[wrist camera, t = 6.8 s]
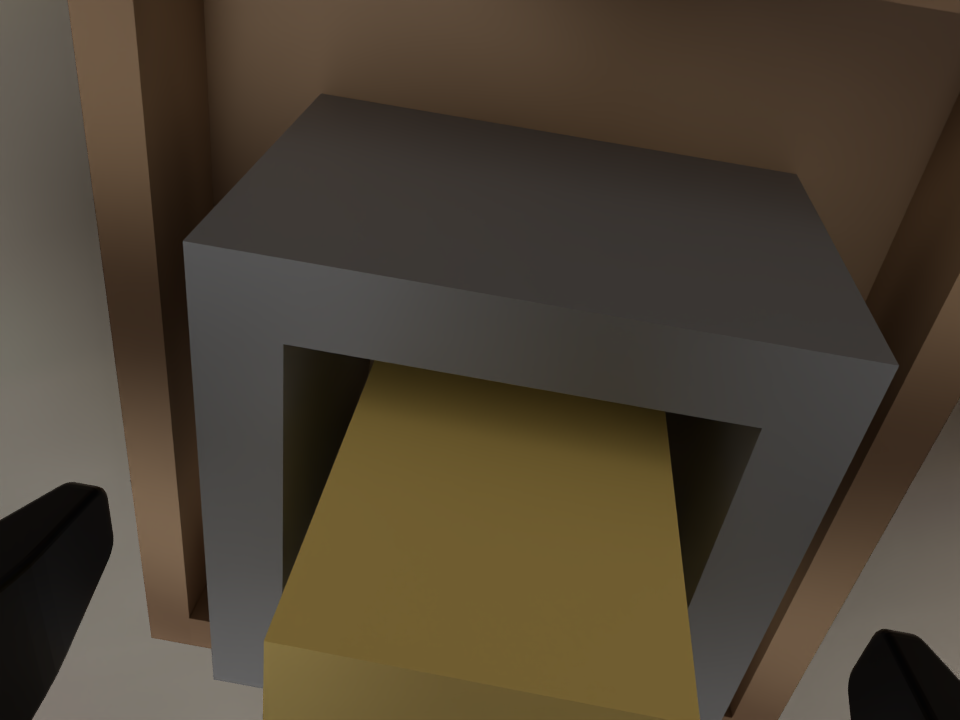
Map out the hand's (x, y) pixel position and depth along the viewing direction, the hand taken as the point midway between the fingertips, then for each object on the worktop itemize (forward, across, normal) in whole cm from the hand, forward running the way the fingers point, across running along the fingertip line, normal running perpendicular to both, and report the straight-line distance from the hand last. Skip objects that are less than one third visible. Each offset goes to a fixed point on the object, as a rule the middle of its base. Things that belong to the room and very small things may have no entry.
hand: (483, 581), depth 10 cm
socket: (+5, 0, 0) cm, 5 cm away
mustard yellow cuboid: (+5, 0, 0) cm, 5 cm away
